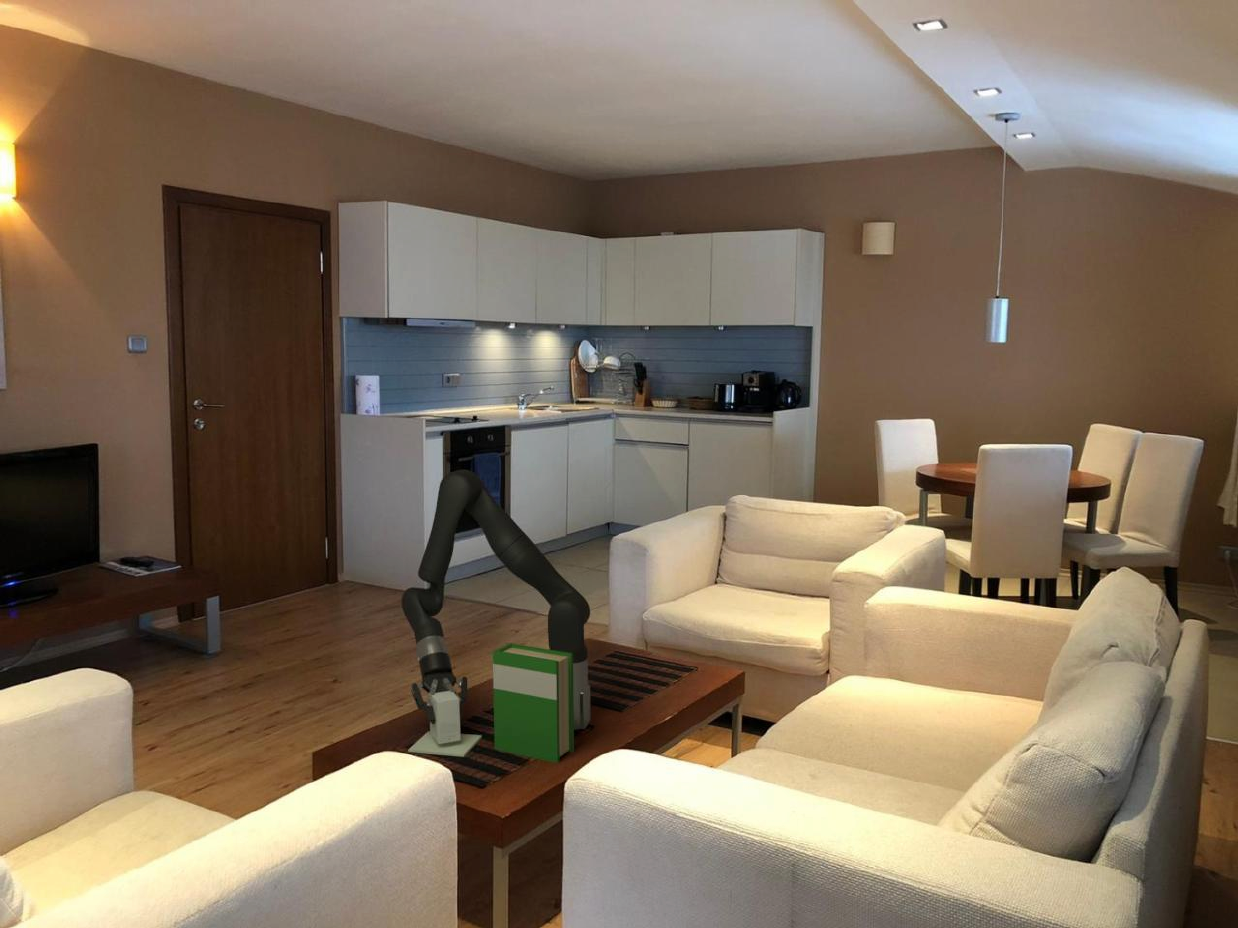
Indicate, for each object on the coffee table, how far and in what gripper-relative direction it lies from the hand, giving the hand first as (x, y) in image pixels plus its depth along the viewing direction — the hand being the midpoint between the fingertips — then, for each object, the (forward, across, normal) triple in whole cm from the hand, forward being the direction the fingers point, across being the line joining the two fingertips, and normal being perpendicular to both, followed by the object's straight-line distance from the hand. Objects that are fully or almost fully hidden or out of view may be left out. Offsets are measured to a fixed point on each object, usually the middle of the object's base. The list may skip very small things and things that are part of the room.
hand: (446, 720), depth 240 cm
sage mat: (+4, 0, +6) cm, 7 cm away
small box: (+2, 0, +5) cm, 5 cm away
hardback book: (+12, +18, -3) cm, 22 cm away
